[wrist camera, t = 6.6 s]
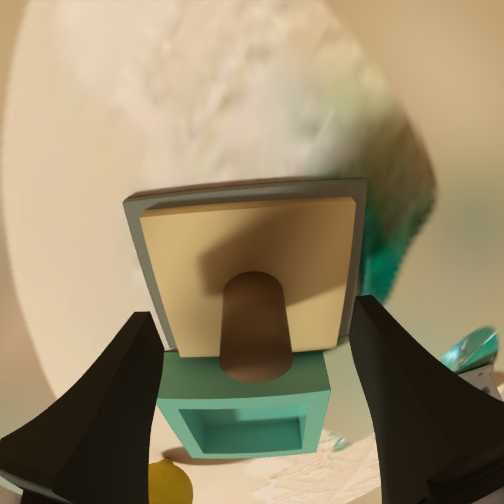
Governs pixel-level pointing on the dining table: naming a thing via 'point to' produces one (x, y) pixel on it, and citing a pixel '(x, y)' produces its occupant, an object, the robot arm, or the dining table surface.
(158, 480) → the lemon
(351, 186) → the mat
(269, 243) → the lid
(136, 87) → the dining table surface
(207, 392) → the dish
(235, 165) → the dining table surface
